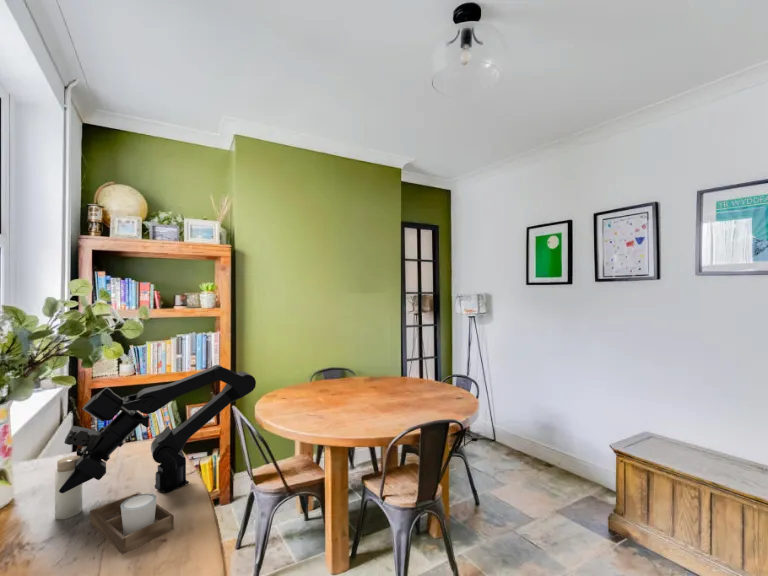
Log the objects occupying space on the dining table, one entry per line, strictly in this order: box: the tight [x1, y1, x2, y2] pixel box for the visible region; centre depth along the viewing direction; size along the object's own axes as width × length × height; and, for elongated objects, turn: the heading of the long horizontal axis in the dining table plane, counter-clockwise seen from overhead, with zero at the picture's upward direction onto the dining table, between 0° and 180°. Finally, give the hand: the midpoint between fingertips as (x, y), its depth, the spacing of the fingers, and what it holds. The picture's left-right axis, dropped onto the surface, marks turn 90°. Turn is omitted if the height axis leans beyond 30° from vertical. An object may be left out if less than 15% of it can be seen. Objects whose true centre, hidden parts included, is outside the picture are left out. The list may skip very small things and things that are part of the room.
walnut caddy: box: [89, 491, 175, 555], centre depth 88 cm, size 10×18×3 cm, turn 54°
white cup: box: [120, 493, 158, 537], centre depth 85 cm, size 7×7×7 cm
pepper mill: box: [54, 455, 84, 520], centre depth 93 cm, size 5×5×13 cm
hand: (61, 487), depth 92 cm, fingers closed on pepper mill, 5 cm apart
